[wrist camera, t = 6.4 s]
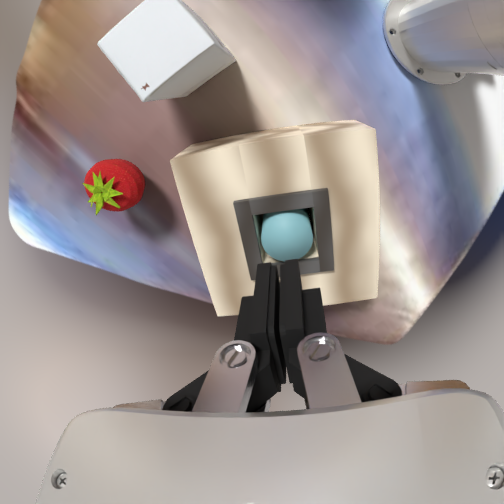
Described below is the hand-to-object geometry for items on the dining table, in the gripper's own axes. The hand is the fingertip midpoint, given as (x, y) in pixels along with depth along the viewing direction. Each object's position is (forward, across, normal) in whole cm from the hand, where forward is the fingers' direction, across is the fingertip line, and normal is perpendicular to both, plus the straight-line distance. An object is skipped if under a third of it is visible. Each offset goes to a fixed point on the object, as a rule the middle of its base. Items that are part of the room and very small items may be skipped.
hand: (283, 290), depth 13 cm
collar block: (+25, +1, +6) cm, 25 cm away
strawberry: (+25, +18, -2) cm, 31 cm away
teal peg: (+23, +1, +6) cm, 24 cm away
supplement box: (+25, +7, -14) cm, 29 cm away
